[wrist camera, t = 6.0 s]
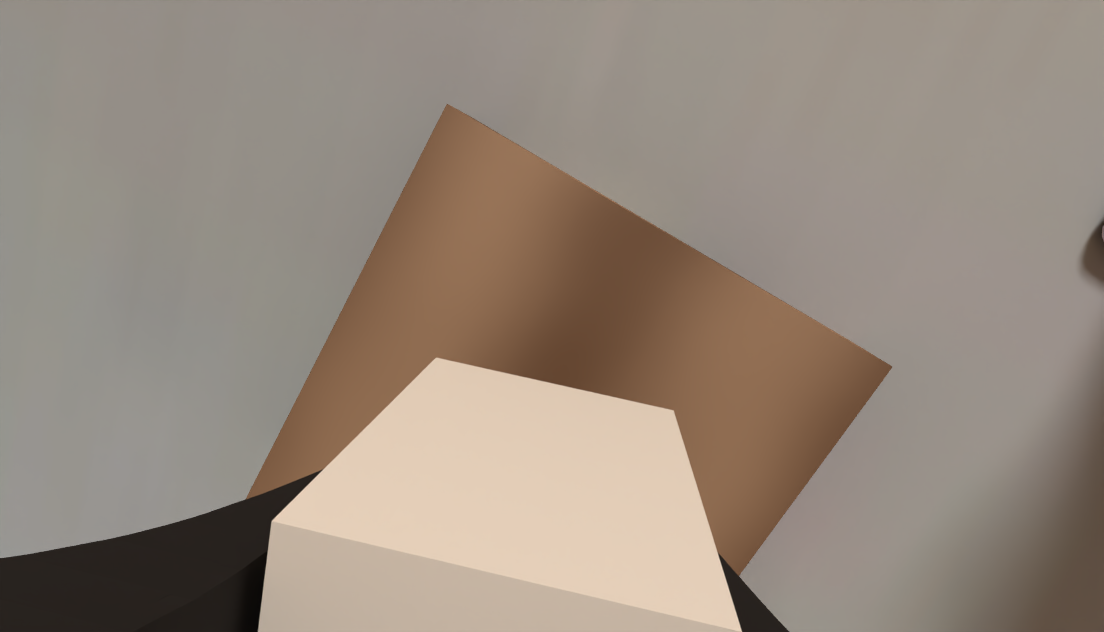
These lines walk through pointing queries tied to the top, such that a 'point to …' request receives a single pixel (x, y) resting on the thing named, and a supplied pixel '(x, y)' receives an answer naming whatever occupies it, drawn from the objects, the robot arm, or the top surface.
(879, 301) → the top surface
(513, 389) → the cream block
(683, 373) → the walnut block
